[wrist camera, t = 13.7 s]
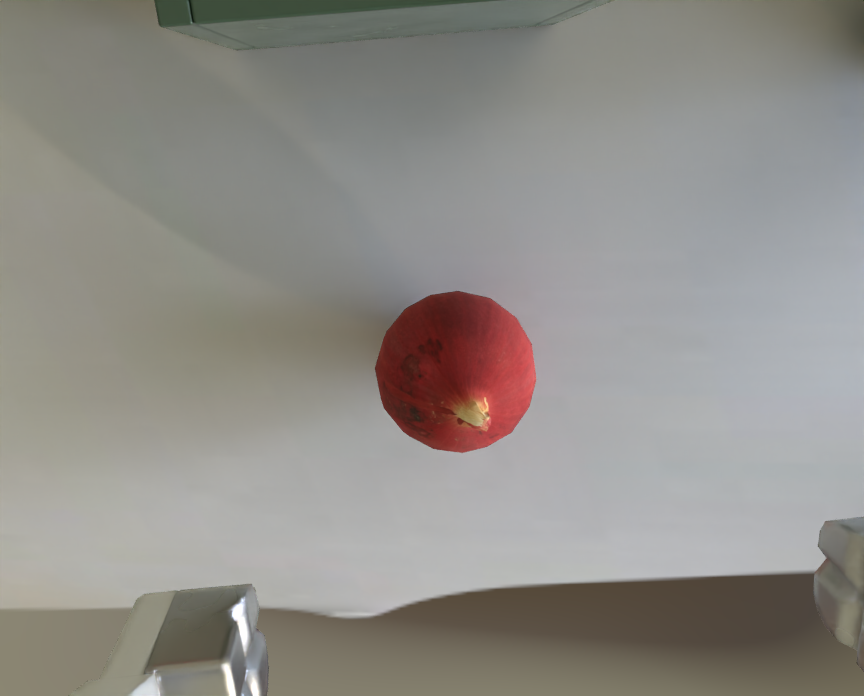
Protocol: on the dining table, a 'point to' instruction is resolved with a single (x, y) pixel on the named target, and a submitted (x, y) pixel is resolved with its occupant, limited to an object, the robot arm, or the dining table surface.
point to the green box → (352, 18)
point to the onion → (456, 371)
